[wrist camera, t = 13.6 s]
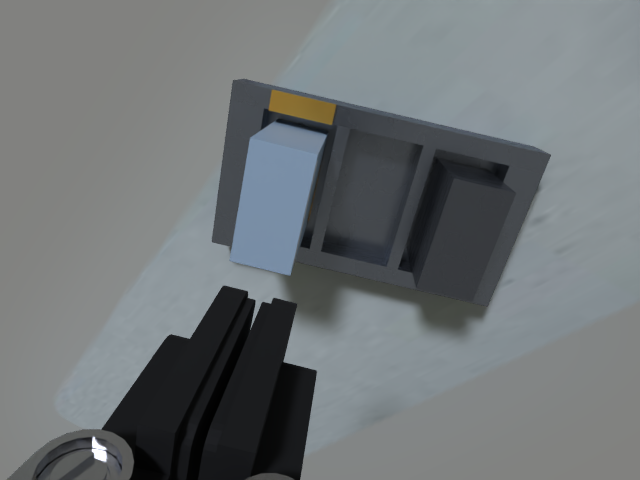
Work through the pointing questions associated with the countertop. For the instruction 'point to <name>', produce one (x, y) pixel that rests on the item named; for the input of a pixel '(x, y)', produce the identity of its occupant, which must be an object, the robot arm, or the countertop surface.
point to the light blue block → (277, 195)
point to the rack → (392, 192)
